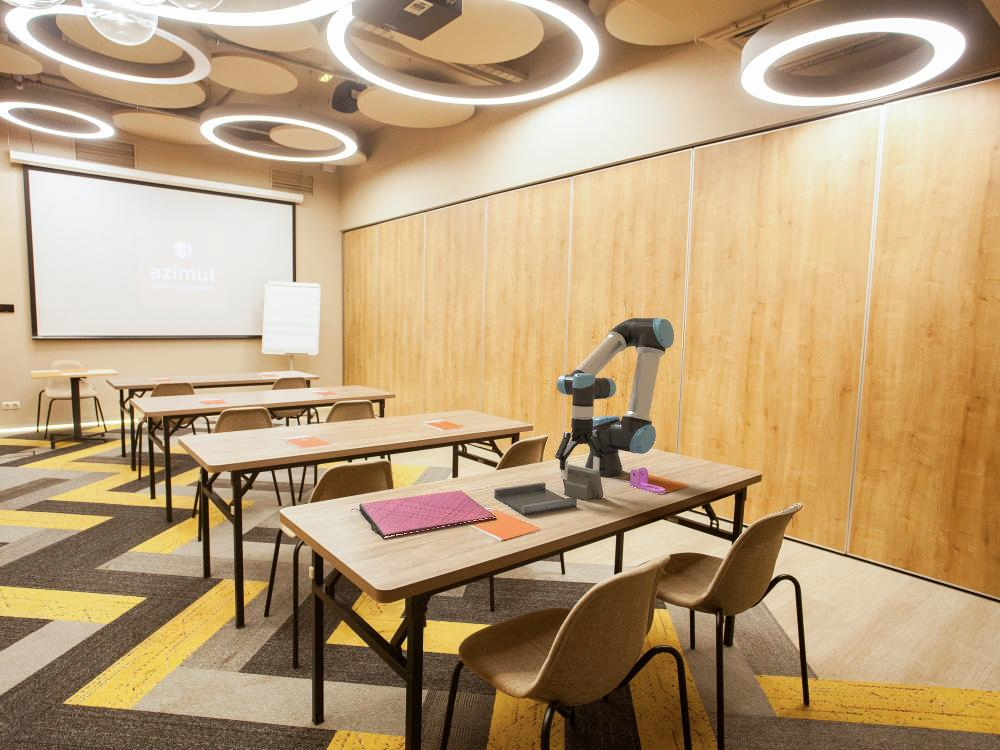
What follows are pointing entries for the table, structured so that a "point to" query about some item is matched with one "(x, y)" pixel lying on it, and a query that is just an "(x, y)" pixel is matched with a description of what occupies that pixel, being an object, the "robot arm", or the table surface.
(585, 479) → the digital clock
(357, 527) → the table surface
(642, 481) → the bracket
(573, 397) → the robot arm
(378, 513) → the laptop bag
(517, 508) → the rail plate
